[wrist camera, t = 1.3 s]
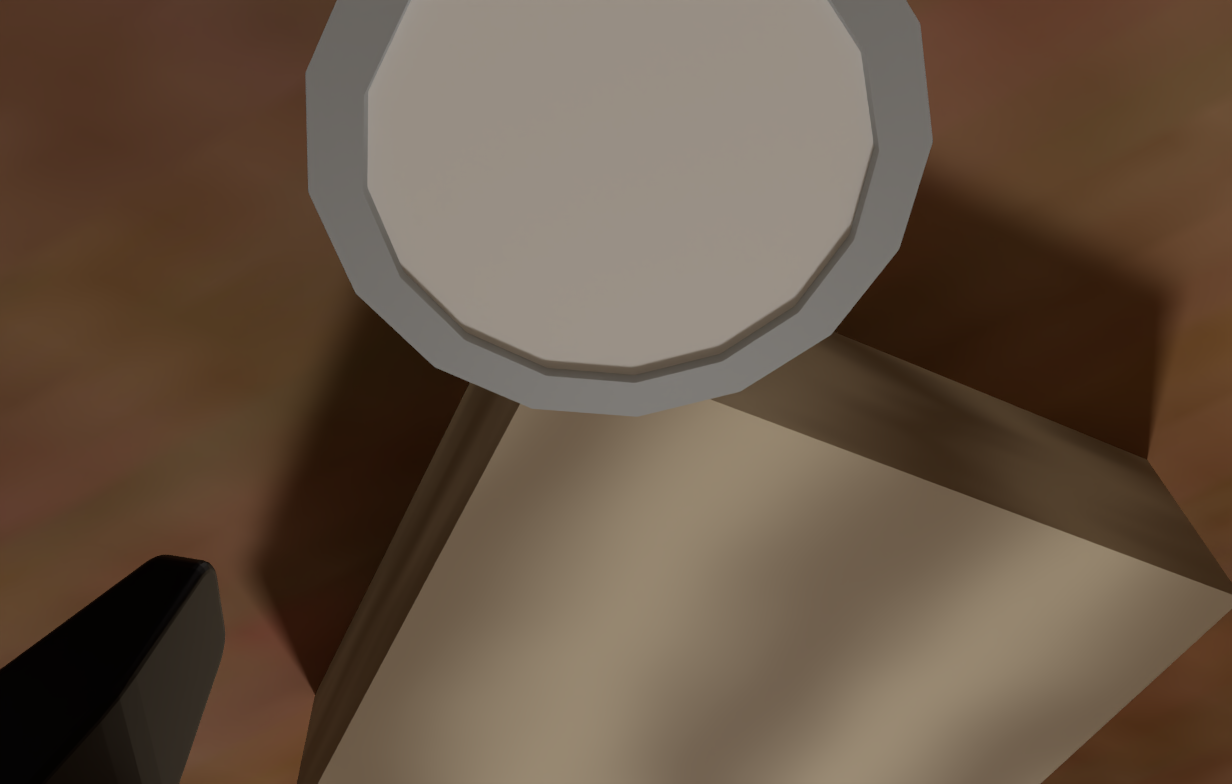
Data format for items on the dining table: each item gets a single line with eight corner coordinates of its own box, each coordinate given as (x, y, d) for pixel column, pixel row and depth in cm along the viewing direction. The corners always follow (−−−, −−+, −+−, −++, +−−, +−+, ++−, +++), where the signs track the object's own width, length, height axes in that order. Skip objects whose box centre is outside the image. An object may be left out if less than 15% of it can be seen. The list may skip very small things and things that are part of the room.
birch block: (317, 681, 28) (283, 848, 24) (551, 206, 21) (553, 340, 17) (805, 808, 32) (839, 967, 28) (1139, 448, 25) (1242, 598, 21)
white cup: (570, -384, 15) (587, -363, 10) (901, -38, 18) (1066, 135, 12) (291, 10, 18) (175, 207, 12) (616, 255, 21) (642, 507, 15)
